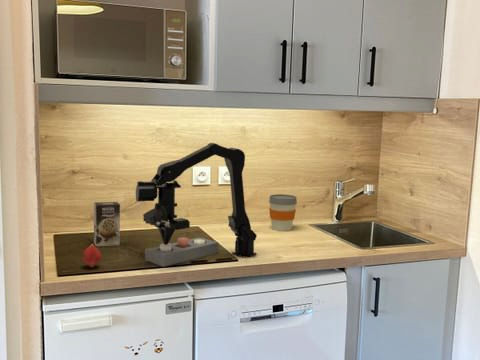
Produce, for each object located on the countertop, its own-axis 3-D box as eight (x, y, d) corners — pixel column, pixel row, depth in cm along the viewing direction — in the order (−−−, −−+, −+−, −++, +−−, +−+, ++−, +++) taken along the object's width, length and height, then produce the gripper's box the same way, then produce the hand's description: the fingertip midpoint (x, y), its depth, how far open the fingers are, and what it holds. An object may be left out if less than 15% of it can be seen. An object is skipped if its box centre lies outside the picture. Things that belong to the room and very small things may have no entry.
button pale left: (173, 252, 181) (173, 244, 181) (164, 255, 178) (164, 246, 178) (166, 250, 184) (166, 242, 183) (157, 252, 181) (157, 244, 180)
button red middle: (190, 247, 187) (190, 239, 186) (182, 249, 184) (182, 240, 184) (183, 244, 190) (183, 236, 189) (175, 246, 187) (175, 238, 186)
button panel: (217, 252, 193) (218, 242, 193) (163, 266, 174) (163, 255, 174) (199, 247, 200) (199, 237, 200) (145, 260, 181) (145, 249, 181)
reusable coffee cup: (262, 228, 236) (263, 195, 234) (280, 224, 245) (282, 193, 243) (282, 233, 227) (284, 199, 225) (301, 229, 236) (302, 197, 234)
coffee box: (96, 246, 196) (95, 205, 194) (93, 242, 202) (93, 202, 199) (120, 245, 199) (120, 204, 197) (117, 241, 205) (117, 201, 203)
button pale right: (206, 248, 193) (206, 240, 193) (198, 250, 190) (198, 242, 190) (199, 246, 196) (199, 238, 195) (191, 248, 193) (191, 240, 192)
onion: (79, 268, 170) (78, 244, 168) (90, 263, 175) (89, 240, 174) (93, 271, 168) (93, 247, 166) (104, 266, 173) (104, 242, 172)
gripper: (131, 199, 179) (130, 243, 181) (165, 207, 166) (164, 254, 168) (156, 195, 187) (156, 237, 189) (191, 203, 174) (190, 248, 177)
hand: (165, 244), depth 181 cm, fingers closed, pressing on button pale left
